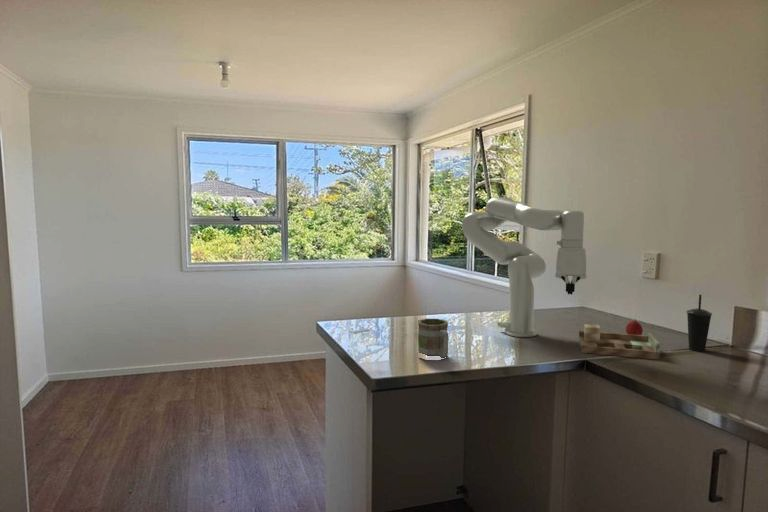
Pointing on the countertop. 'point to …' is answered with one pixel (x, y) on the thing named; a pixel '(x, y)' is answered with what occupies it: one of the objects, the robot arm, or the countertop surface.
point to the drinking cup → (698, 327)
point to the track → (622, 345)
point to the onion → (634, 328)
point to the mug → (433, 337)
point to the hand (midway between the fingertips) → (569, 293)
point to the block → (591, 332)
